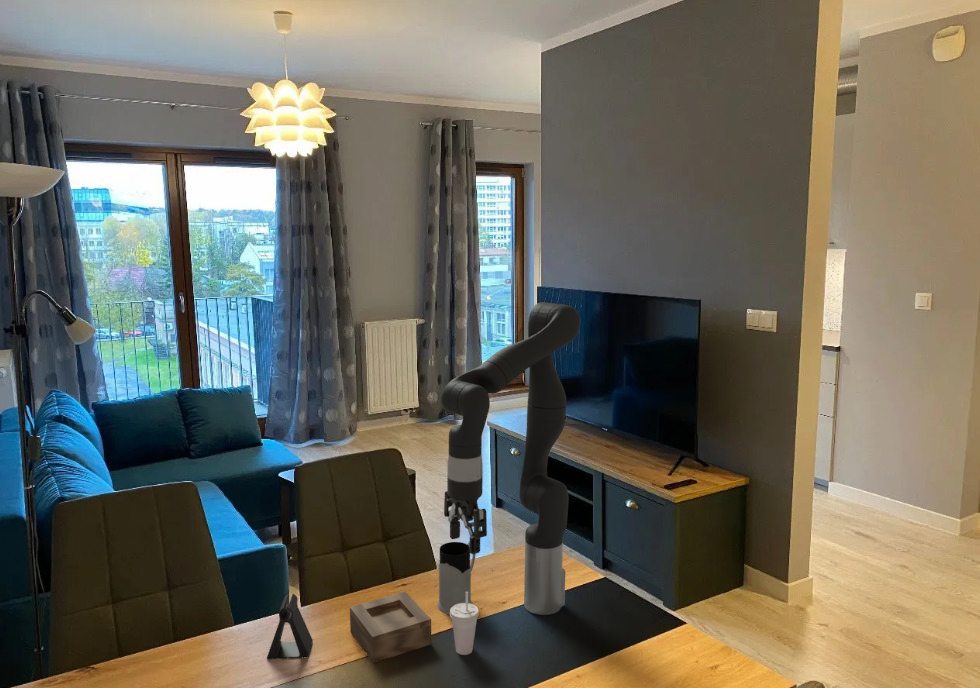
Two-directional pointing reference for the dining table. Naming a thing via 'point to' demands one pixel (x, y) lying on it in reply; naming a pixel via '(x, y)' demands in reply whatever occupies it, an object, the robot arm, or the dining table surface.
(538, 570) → the robot arm
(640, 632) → the dining table surface
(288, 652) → the phone stand
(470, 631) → the smoothie
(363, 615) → the walnut tray
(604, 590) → the dining table surface
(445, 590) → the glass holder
